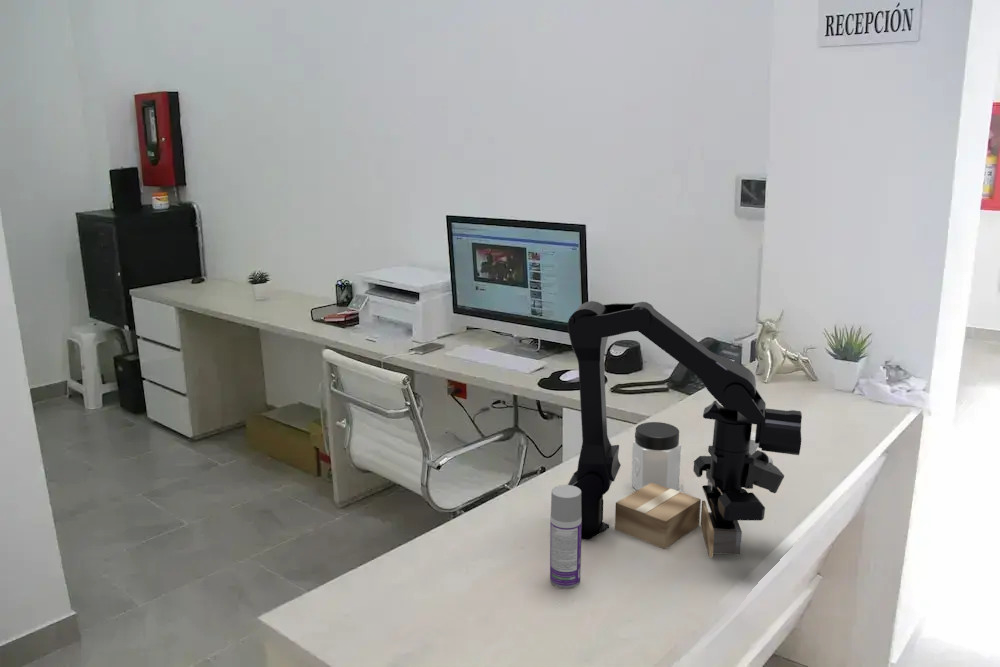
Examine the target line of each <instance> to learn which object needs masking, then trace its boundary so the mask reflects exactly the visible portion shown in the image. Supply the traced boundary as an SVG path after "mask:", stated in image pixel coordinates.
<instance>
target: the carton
mask: <svg viewBox="0 0 1000 667" xmlns="http://www.w3.org/2000/svg"><path fill="white" fill-rule="evenodd" d="M701 504H702V500H701V498H699V497H696V496H692V495H689V494H687V493H684V492H681V491H679V490H674V489H670V488H667V487H664V486H661V485H658V484H655V483H652V482H651V483H650V484H648V485H646V486H644V487H643V488H641V489H639V490H636V491H634V492H632V493H630V494H629V495H627V496H625V497H623V498H622V499H620V500H617V501H616V502H615V510H614V511H615V512H614V514H615V515H614V516H615V517H614V530H615V531H618V532H621V533H623V534H626V535H629V536H631V537H633V538H636V539H639V540H640V541H641V540H642V541H644V542H647V543H649V544H651V545H654V546H655V547H657V548H658V547H659V548H661V549H667V548H668V547H670V546H671V545H673V544H674V543H676V542H677V541H678V540H680V539H681V538H683V537H685V536H686V535H687V534H689V533H690V532H692V531H693V530H695V529H696V528H698V527H699V526H700V521H701Z"/></svg>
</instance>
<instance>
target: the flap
mask: <svg viewBox="0 0 1000 667" xmlns="http://www.w3.org/2000/svg"><path fill="white" fill-rule="evenodd" d="M707 506H708V505H707V502H706V500H701V509H700V527H701V531H702V535H703V539H704V542H705V546H706V550H707V553H708V557H709V558H713V555H714V554H716V555H719V554H720V555H721V554H722V555H723V554H724V555H741V549H742V537H743V531H742V528H741V527H740V522H739V520H734V521H733V523H732V526H731V528H730V529H717V527H716V524H715V521H714V519H713V516H712V513H711V511H709V509H708V507H707Z"/></svg>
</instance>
